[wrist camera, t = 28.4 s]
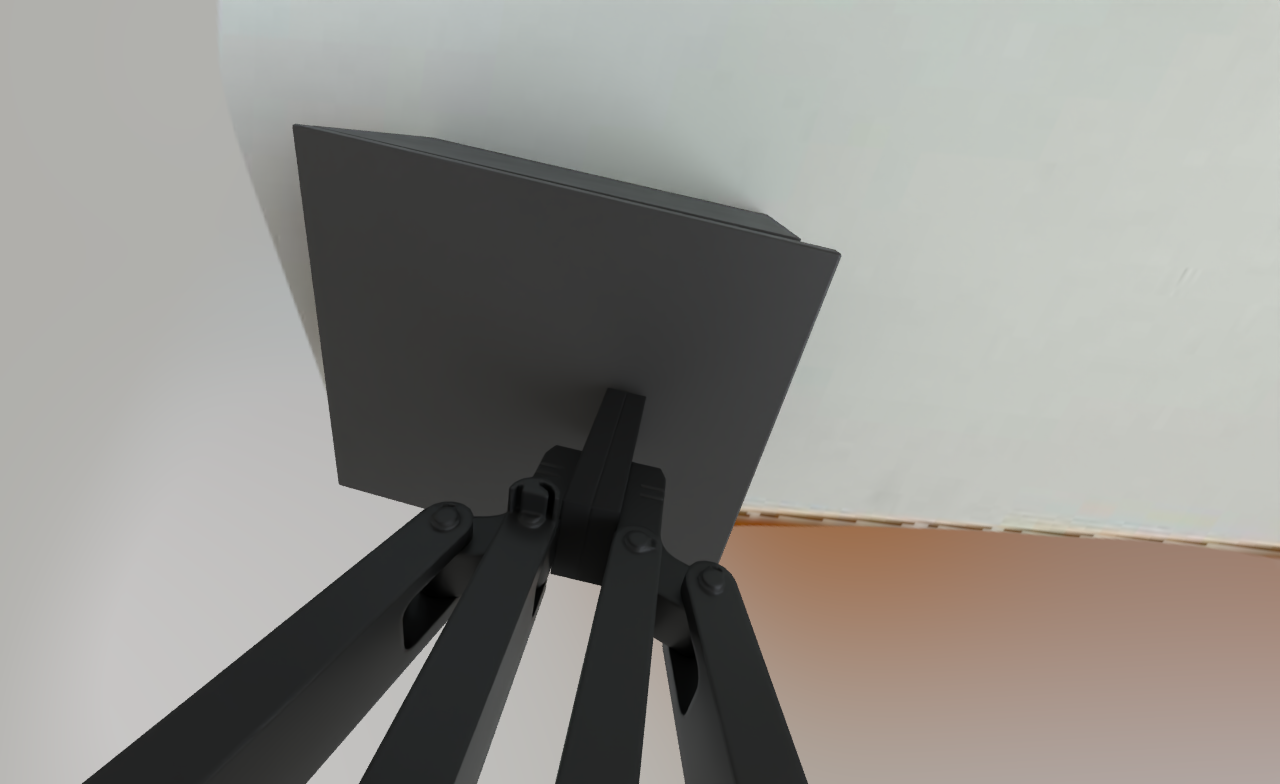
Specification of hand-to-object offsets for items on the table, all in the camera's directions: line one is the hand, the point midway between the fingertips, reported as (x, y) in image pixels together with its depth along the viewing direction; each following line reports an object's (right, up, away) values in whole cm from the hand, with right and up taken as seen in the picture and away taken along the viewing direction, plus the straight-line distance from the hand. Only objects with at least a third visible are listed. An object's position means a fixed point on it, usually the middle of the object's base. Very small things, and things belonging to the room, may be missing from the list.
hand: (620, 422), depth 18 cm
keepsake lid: (-3, +1, +1) cm, 4 cm away
